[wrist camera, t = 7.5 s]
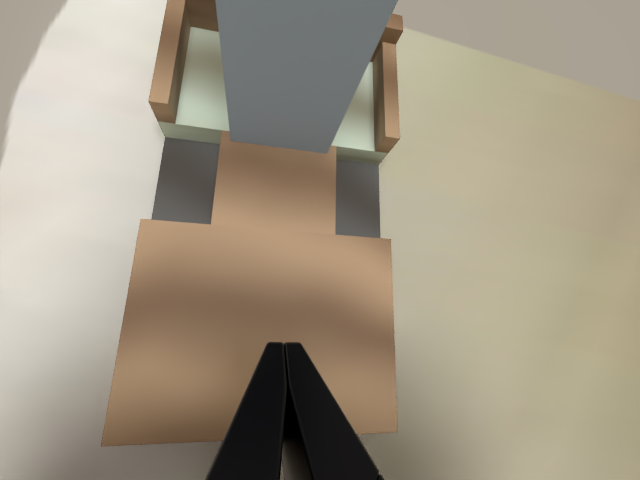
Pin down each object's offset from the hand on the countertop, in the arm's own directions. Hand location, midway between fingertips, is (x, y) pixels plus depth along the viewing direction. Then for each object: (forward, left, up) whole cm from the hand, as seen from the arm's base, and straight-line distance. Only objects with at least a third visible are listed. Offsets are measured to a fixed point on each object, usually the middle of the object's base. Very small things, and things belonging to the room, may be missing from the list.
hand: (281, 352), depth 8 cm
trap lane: (+5, +5, -8) cm, 11 cm away
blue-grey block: (+8, +9, -6) cm, 14 cm away
